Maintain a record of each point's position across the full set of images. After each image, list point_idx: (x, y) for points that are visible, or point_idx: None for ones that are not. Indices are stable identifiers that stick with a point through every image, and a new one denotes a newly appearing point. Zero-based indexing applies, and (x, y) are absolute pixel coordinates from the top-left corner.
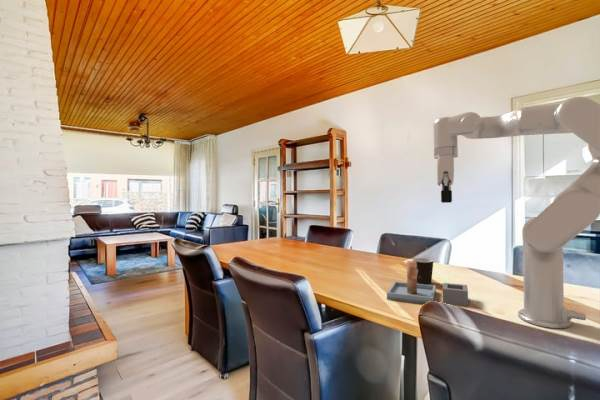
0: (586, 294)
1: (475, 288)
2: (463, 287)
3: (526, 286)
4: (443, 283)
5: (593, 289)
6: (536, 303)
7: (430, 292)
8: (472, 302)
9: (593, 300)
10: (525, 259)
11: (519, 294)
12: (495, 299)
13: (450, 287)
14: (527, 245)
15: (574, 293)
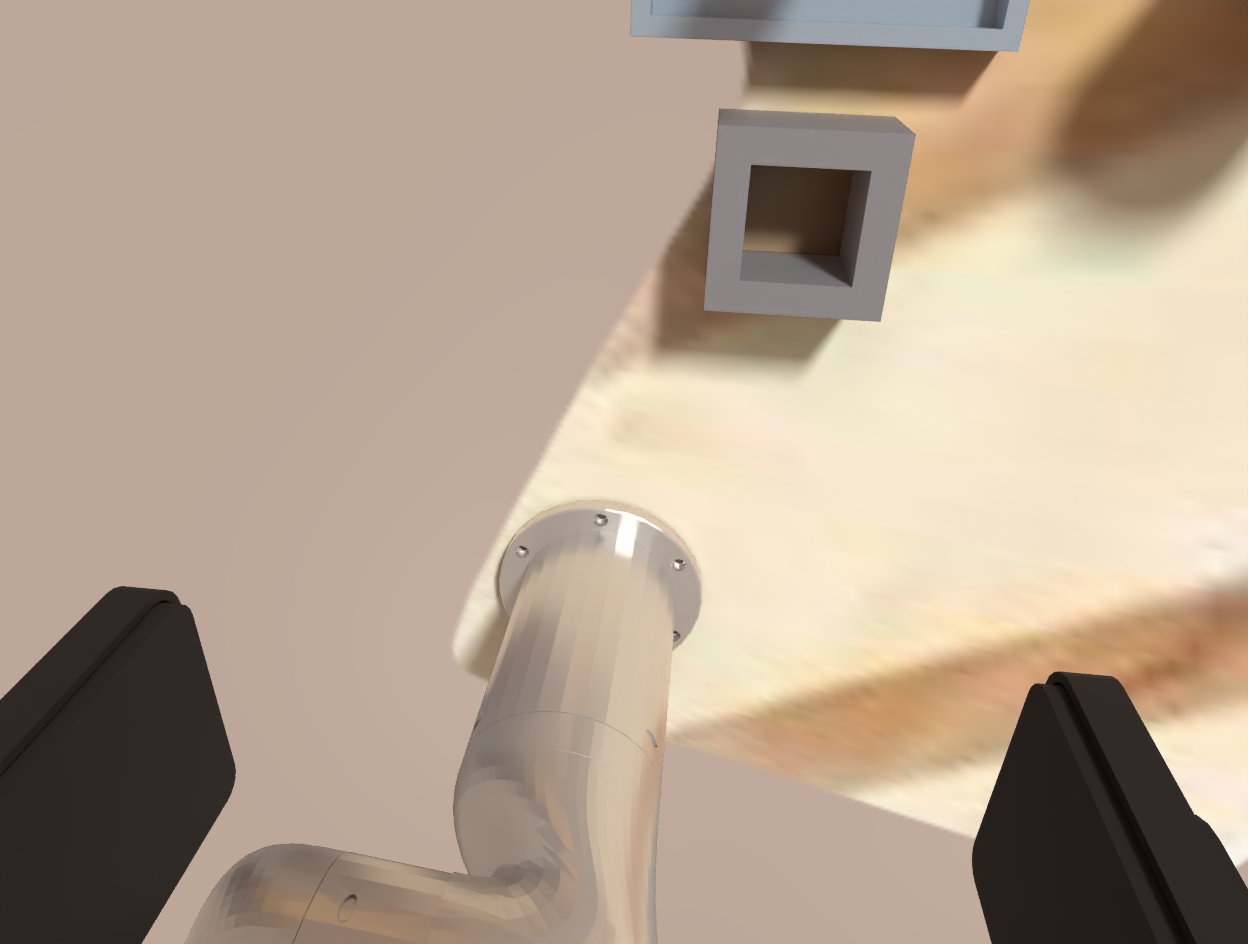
0: None
1: (1141, 368)
2: (800, 289)
3: (543, 634)
4: (890, 135)
5: None
6: (516, 608)
7: (896, 2)
8: None
9: (966, 832)
10: (518, 762)
11: (1020, 589)
12: (883, 449)
13: (864, 188)
14: (525, 865)
15: None
